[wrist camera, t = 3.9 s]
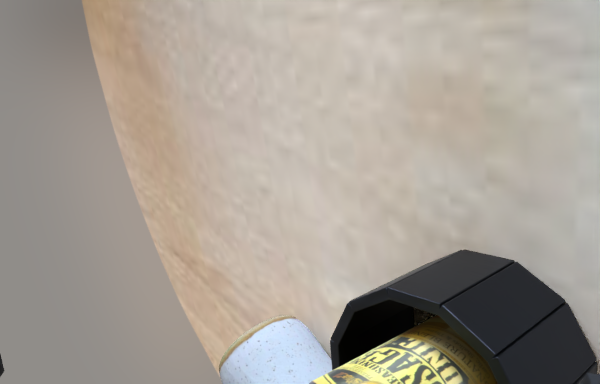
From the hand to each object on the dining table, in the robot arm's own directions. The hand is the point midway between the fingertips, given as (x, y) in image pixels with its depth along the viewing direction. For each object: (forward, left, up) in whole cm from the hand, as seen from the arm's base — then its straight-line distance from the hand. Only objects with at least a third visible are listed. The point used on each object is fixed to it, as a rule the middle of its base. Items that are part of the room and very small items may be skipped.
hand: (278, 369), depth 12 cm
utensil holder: (0, -11, -18) cm, 21 cm away
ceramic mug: (-8, -24, -18) cm, 31 cm away
